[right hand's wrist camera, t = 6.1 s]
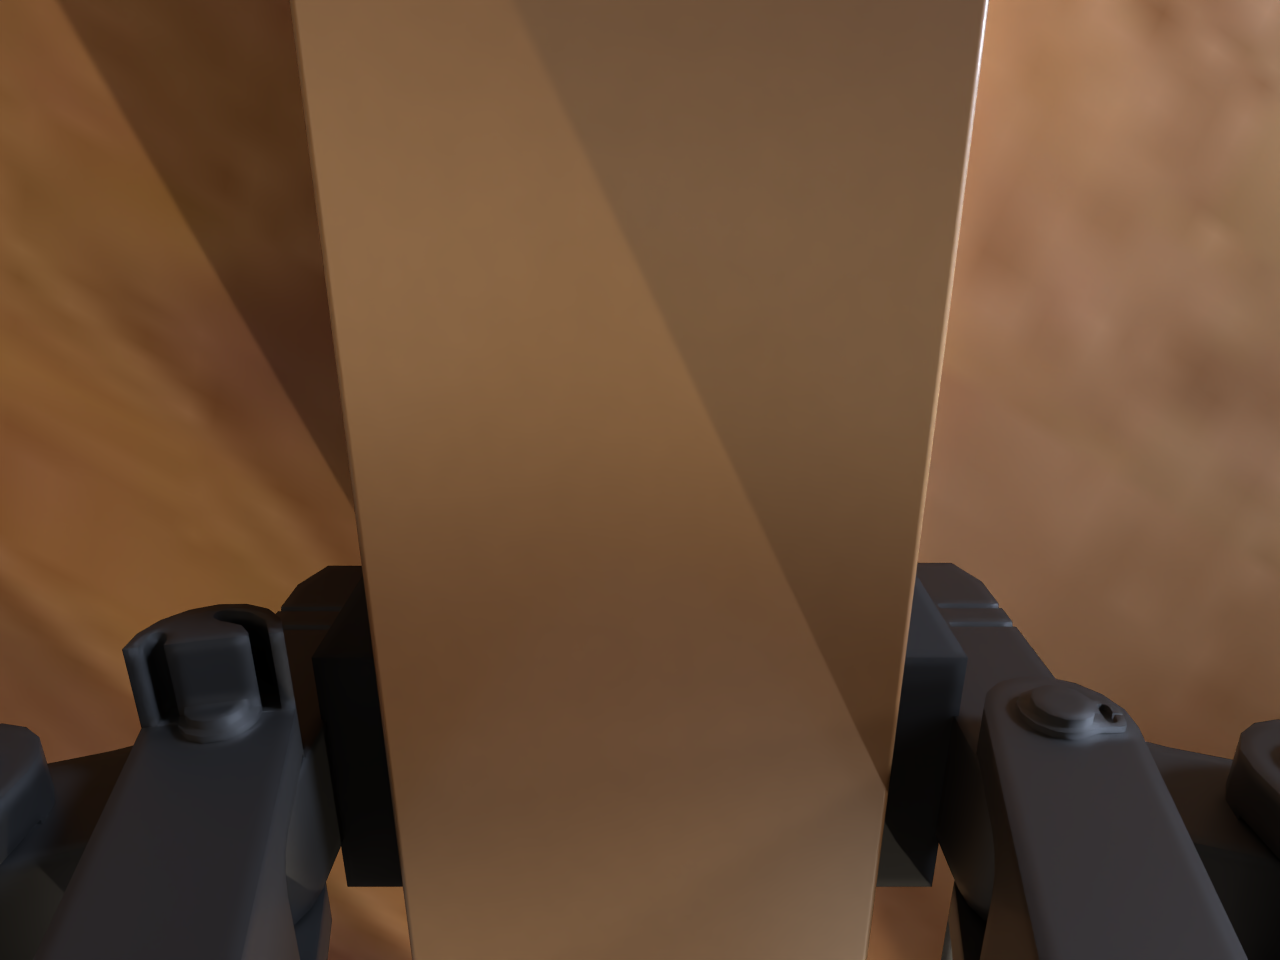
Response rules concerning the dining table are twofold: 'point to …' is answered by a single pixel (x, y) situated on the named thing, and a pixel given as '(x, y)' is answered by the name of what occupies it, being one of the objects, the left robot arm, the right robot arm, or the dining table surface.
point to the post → (639, 445)
